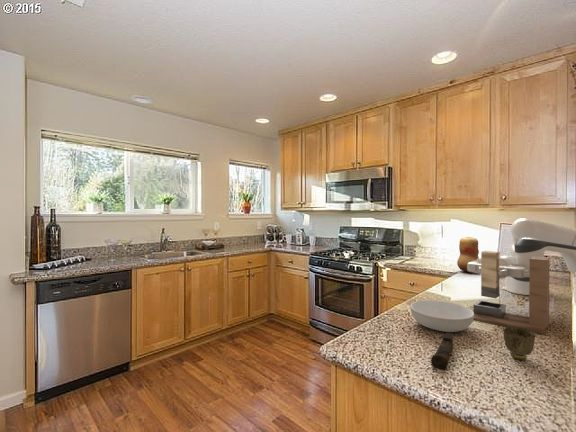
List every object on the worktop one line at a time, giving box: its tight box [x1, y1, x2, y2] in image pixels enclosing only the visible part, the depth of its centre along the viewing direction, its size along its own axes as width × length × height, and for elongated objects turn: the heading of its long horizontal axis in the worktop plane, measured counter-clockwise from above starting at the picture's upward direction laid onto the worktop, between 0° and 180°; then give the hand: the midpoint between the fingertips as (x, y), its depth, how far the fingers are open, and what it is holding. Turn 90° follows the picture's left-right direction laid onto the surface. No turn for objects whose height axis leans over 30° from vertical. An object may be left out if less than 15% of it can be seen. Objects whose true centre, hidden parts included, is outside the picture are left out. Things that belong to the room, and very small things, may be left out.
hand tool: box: [430, 332, 454, 371], centre depth 88 cm, size 19×4×5 cm, turn 141°
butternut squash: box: [456, 236, 480, 274], centre depth 212 cm, size 14×13×25 cm
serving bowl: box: [409, 299, 474, 333], centre depth 111 cm, size 21×21×7 cm
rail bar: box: [480, 250, 501, 299], centre depth 122 cm, size 5×5×18 cm
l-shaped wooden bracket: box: [468, 256, 550, 336], centre depth 117 cm, size 16×26×25 cm, turn 46°
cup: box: [502, 326, 537, 361], centre depth 87 cm, size 8×7×8 cm
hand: (489, 271), depth 122 cm, fingers closed on rail bar, 5 cm apart
